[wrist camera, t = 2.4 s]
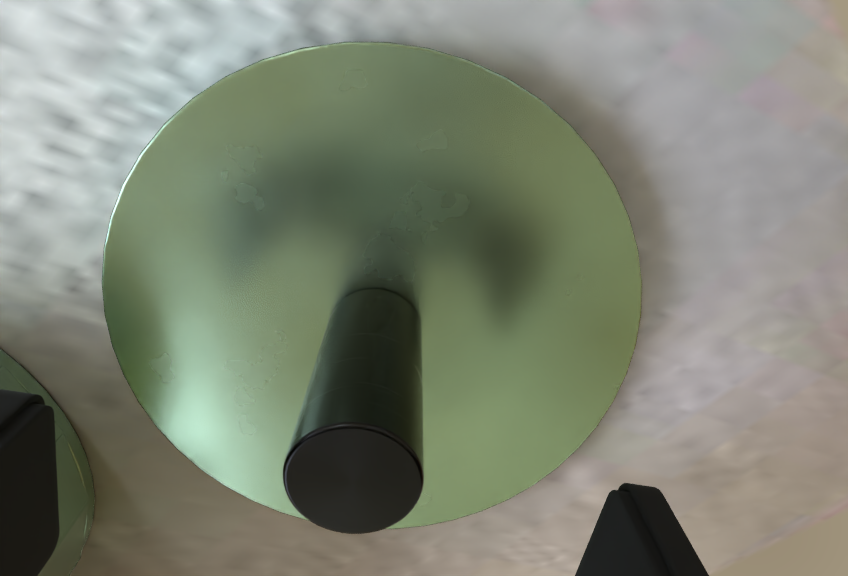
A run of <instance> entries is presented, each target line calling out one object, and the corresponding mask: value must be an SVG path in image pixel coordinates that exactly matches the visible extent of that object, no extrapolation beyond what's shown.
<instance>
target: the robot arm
mask: <svg viewBox="0 0 848 576" xmlns="http://www.w3.org/2000/svg"><path fill="white" fill-rule="evenodd" d="M59 531H60V529H59V508H58V486H57V464H56V442H55V420H54V410H53V408H52V407H51V406H48V405H45V402H44V399H43V398H42V396H40V395H38V394H31V393H25V392H18V391H11V390H5V389H1V390H0V576H38V574H39V573H40V571H41V570H42V569H43V567H44V566H45V564H46V563H47V561H48V560H49V559H50V557H51V555H52V554H53V552H54V550H55V548H56V545H57V542H58V538H59ZM575 576H709V575H708V573H707V572H706V570H705V568H704V566H703V565H702V563H701V561H700V559H699V557H698V556H697V554H696V552H695V550H694V549H693V547H692V545H691V543H690V542H689V540H688V538H687V536H686V534H685V533H684V531H683V529H682V527H681V526H680V524H679V522H678V520H677V519H676V517H675V515H674V513H673V511H672V510H671V508H670V506H669V504H668V503H667V501H666V499H665V497H664V496H663V494H662V493H661V491H660V490H659V489H657V488H655V487H649V486H642V485H636V484H629V483H624V484H622V485H621V486H620V487H619V489H618V490H612V491H611V492H610V493H609V495H608V497H607V499H606V502H605V504H604V506H603V509H602V511H601V514H600V516H599V519H598V521H597V523H596V526H595V528H594V531H593V533H592V536H591V538H590V541H589V543H588V545H587V548H586V550H585V553H584V555H583V558H582V560H581V562H580V565H579V567H578V570H577V572H576V575H575Z"/></svg>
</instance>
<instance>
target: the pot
mask: <svg viewBox="0 0 848 576" xmlns="http://www.w3.org/2000/svg"><path fill="white" fill-rule="evenodd" d="M1 389H5V390H11V391H18V392H25V393H31V394H38V395H40V396H42V398H43V399H44V402H45V405H48V406H51V407H52V408H53V410H54V420H55V442H56V464H57V486H58V508H59V529H60V531H59V538H58V542H57V545H56V548H55V550H54V552H53V554H52V555H51V557H50V559H49V560H48V561H47V563H46V564H45V566H44V567H43V569H42V570H41V571H40V573H39V574H38V576H69V575H70V573H71V572H72V570H73V569H74V567H75V566H76V564H77V563H78V561H79V559H80V558H81V551H82V549H83V546H84V544H85V542H86V540H87V538H88V536H89V533H90V529H91V525H92V521H93V516H94V499H95V496H94V487H93V479H92V474H91V471H90V467H89V464H88V460H87V456H86V454H85V452H84V449H83V447H82V445H81V443H80V441H79V438H78V436H77V434H76V432H75V431H74V429H73V427H72V426H71V424H70V423H69V421H68V419H67V418H66V416H65V414H64V413H63V411H62V410H61V409H60V408H59V406H58V405H57V404H56V402H55V401H54V400H53V399H52V397H51V396H50V395H49V394H48V392H47V391H46V390H45V389H44V388H43V387H42V386H41V385H40V384H39V383H38V382H37V381H36V380H35V379H34V378H33V377H32V376H31V375H30V374H29V373H28V372H27V371H26V370H25V369H24V368H23V367H22V366H21V365H19V364H18V363H17V362H16V361H15V360H13V359H12V358H11V357H10V356H9V355H7V354H6V353H5V352H4V351H2V350H1V349H0V390H1Z"/></svg>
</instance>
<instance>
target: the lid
mask: <svg viewBox="0 0 848 576" xmlns="http://www.w3.org/2000/svg"><path fill="white" fill-rule="evenodd" d="M102 290H103V301H104V312H105V318H106V322H107V326H108V330H109V334H110V339H111V343H112V347H113V349H114V352H115V354H116V357H117V359H118V362H119V364H120V367H121V370H122V372H123V375H124V377H125V378H126V380H127V382H128V384H129V386H130V388H131V389H132V391H133V393H134V395H135V397H136V398H137V400H138V402H139V403H140V405H141V406H142V408H143V409H144V410H145V412H146V413H147V414H148V416H149V417H150V419H151V420H152V421H153V423H154V424H155V425H156V427H157V428H158V429H159V430H160V431H161V432H162V433H163V434H164V436H165V437H166V438H167V439H168V440H169V441H170V442H171V443H172V444H173V445H174V446H175V447H176V449H177V450H179V451H180V452H181V453H182V454H183V455H184V456H186V457H187V458H188V459H189V460H190V461H191V462H193V463H194V464H195V465H196V466H197V467H198V468H200V469H201V470H202V471H204V472H205V473H207V474H208V475H210V476H211V477H212V478H214V479H215V480H217V481H218V482H220V483H221V484H223V485H224V486H226V487H227V488H229V489H231V490H233V491H235V492H237V493H239V494H240V495H242V496H244V497H246V498H248V499H250V500H252V501H254V502H256V503H259V504H261V505H264V506H266V507H268V508H271V509H273V510H276V511H278V512H281V513H284V514H288V515H291V516H294V517H298V518H301V519H304V520H308V521H311V522H313V523H314V524H316V525H318V526H320V527H323V528H325V529H328V530H332V531H335V532H341V533H349V534H363V533H371V532H375V531H379V530H382V529H400V528H410V527H419V526H427V525H432V524H437V523H442V522H446V521H451V520H455V519H458V518H462V517H465V516H468V515H471V514H474V513H478V512H481V511H483V510H486V509H488V508H490V507H492V506H495V505H497V504H499V503H502V502H504V501H506V500H508V499H510V498H512V497H514V496H515V495H517V494H519V493H521V492H523V491H524V490H526V489H528V488H530V487H531V486H533V485H535V484H536V483H537V482H539V481H540V480H541V479H543V478H544V477H545V476H547V475H548V474H550V473H551V472H552V471H554V470H555V469H556V468H558V467H559V466H560V465H561V464H562V463H563V462H564V461H565V460H566V459H567V458H568V457H570V456H571V455H572V454H573V453H574V452H575V451H576V450H577V449H578V448H579V447H580V446H581V445H582V444H583V442H584V441H585V440H586V439H587V438H588V436H589V435H590V434H591V433H592V432H593V431H594V429H595V428H596V427H597V426H598V424H599V423H600V421H601V420H602V418H603V417H604V415H605V414H606V412H607V410H608V409H609V407H610V406H611V404H612V403H613V401H614V399H615V397H616V395H617V393H618V391H619V389H620V387H621V385H622V383H623V380H624V378H625V376H626V374H627V371H628V368H629V365H630V362H631V359H632V355H633V352H634V349H635V346H636V341H637V335H638V329H639V324H640V318H641V300H642V278H641V270H640V262H639V253H638V248H637V244H636V240H635V237H634V233H633V229H632V226H631V222H630V219H629V216H628V213H627V211H626V209H625V207H624V204H623V202H622V200H621V198H620V195H619V193H618V191H617V189H616V186H615V184H614V183H613V181H612V179H611V178H610V176H609V175H608V173H607V172H606V170H605V168H604V167H603V165H602V164H601V162H600V161H599V159H598V157H597V156H596V154H595V153H594V152H593V151H592V149H591V148H590V147H589V146H588V145H587V144H586V142H585V141H584V140H583V139H582V138H581V137H580V136H579V134H578V133H577V132H576V131H575V130H574V129H573V127H572V126H571V125H570V124H569V123H568V122H566V121H565V120H564V119H563V118H562V117H561V116H559V115H558V114H557V113H556V112H555V111H554V110H553V109H551V108H550V107H549V106H548V105H547V104H546V103H544V102H543V101H542V100H541V99H539V98H538V97H536V96H535V95H533V94H532V93H530V92H529V91H527V90H525V89H524V88H522V87H521V86H519V85H518V84H516V83H515V82H513V81H511V80H510V79H508V78H507V77H505V76H502V75H500V74H498V73H496V72H494V71H491V70H489V69H487V68H485V67H483V66H481V65H478V64H476V63H474V62H472V61H470V60H467V59H464V58H460V57H457V56H454V55H450V54H447V53H443V52H440V51H437V50H433V49H430V48H425V47H418V46H411V45H404V44H398V43H391V42H341V43H334V44H327V45H319V46H312V47H305V48H300V49H297V50H293V51H290V52H287V53H283V54H280V55H276V56H273V57H269V58H266V59H263V60H260V61H258V62H256V63H254V64H252V65H249V66H247V67H245V68H243V69H241V70H239V71H236V72H234V73H232V74H230V75H228V76H226V77H224V78H223V79H221V80H220V81H218V82H216V83H215V84H213V85H212V86H210V87H209V88H207V89H206V90H204V91H203V92H201V93H200V94H198V95H197V96H195V97H194V98H192V99H191V100H190V101H189V102H188V103H187V104H186V105H185V106H183V107H182V108H181V109H180V110H179V111H178V112H177V113H176V114H175V115H173V116H172V117H171V118H170V119H169V120H168V121H167V122H166V123H165V124H164V125H163V126H162V127H161V129H160V130H159V131H158V132H157V133H156V135H155V136H154V137H153V138H152V140H151V141H150V142H149V143H148V145H147V146H146V147H145V148H144V150H143V151H142V152H141V154H140V155H139V157H138V159H137V161H136V162H135V164H134V166H133V167H132V169H131V171H130V173H129V174H128V176H127V178H126V180H125V181H124V183H123V186H122V188H121V191H120V193H119V196H118V199H117V201H116V204H115V206H114V209H113V212H112V214H111V218H110V222H109V227H108V232H107V236H106V241H105V246H104V254H103V271H102Z"/></svg>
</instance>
